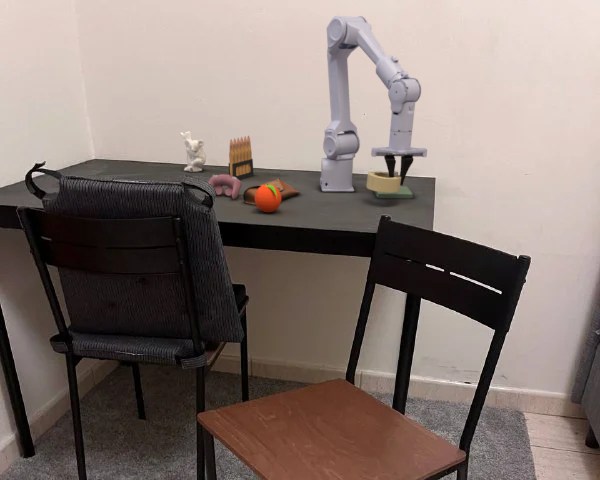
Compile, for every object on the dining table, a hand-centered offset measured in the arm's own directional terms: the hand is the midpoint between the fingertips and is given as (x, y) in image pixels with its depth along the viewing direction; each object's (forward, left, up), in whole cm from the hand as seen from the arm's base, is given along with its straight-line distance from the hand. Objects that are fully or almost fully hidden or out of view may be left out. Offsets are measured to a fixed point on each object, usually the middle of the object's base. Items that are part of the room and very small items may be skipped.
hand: (396, 184), depth 168 cm
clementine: (-35, -10, -5) cm, 36 cm away
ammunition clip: (-44, +32, -5) cm, 55 cm away
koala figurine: (-60, +42, -5) cm, 73 cm away
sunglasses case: (-34, +5, -5) cm, 34 cm away
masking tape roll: (-4, 0, -1) cm, 4 cm away
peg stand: (+1, +11, -5) cm, 13 cm away
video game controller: (-48, +7, -5) cm, 48 cm away
